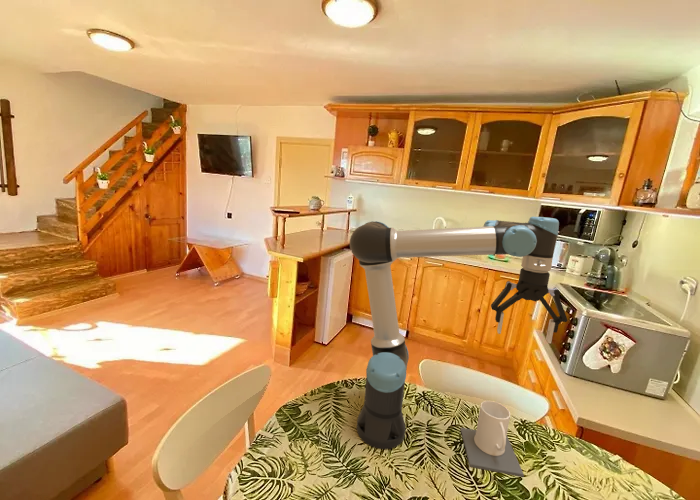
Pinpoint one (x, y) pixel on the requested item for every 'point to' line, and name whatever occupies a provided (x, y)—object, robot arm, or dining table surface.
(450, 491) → the dining table surface
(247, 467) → the dining table surface
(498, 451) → the mug
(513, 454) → the coaster
